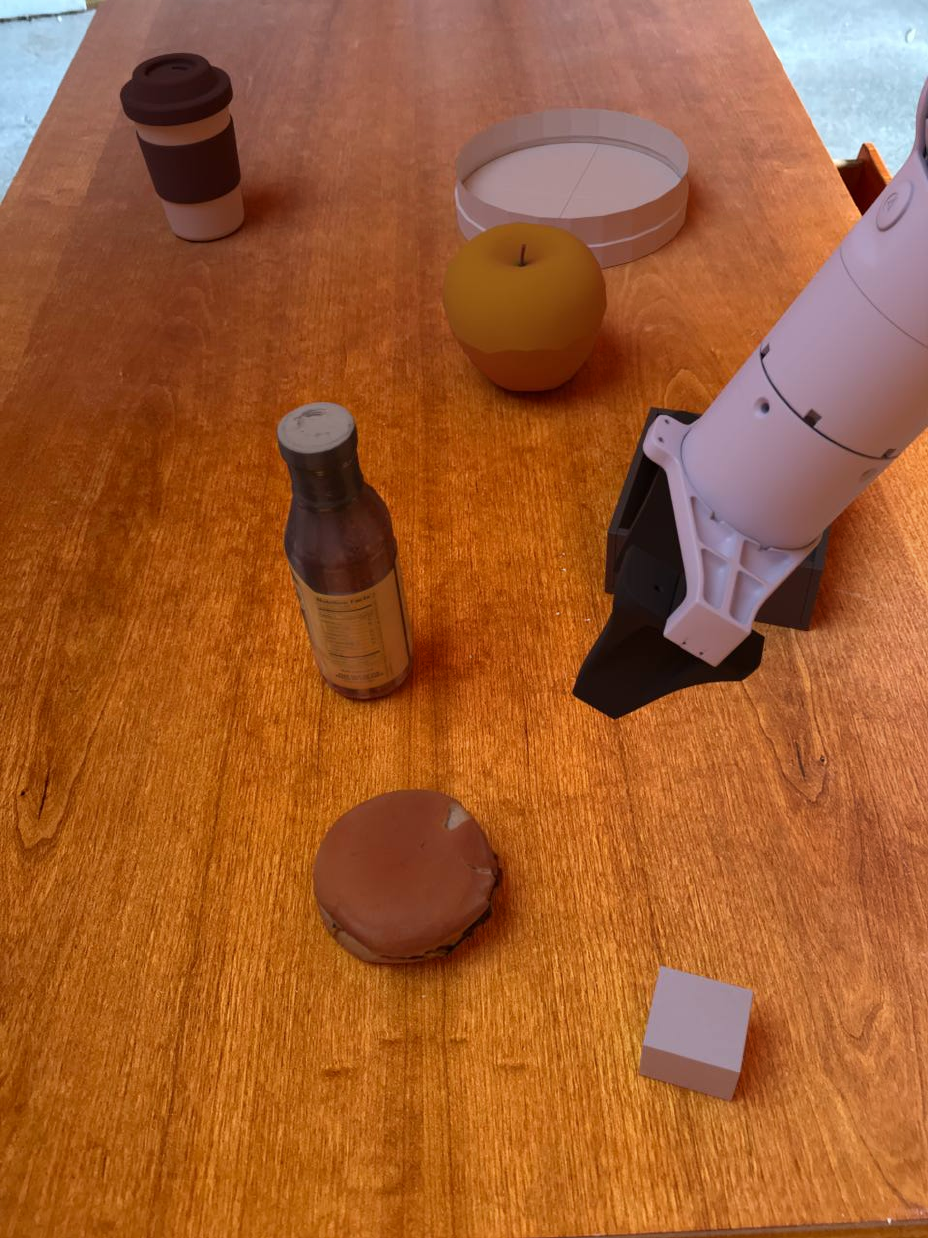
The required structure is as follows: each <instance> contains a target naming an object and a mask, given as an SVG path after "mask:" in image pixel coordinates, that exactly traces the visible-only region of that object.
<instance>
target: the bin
mask: <svg viewBox="0 0 928 1238" xmlns="http://www.w3.org/2000/svg"><path fill="white" fill-rule="evenodd" d="M675 411H678V410H676V409H670V408H664V407H657V406H656V407H655V406H651V407H649V411H648V414H647V417H646V420H645V423H644V425H643V428H642V430H641V434H640V436H639V440H638V443H637V445H636V448H635V451H634V454H633V457H632V460H631V462H630V466H629V469H628V471H627V474H626V477H625V480H624V483H623V486H622V488H621V492H620V493H619V497H618V500H617V503H616V505H615V508H614V512H613V515H612V518H611V520H610V523H609V525H608V529H607V532H606V549H605V550H606V551H605V572H604V573H605V574H604V593H606V594H613V595H614V591H615V586H616V581H617V578H618V574H617V573H616V572H614V571H613V568H614V565H615V562H616V559H617V556H618V553H619V551H620V548H621V546H622V544H623V541H624V539H625V537H626V535H627V533H628V531H629V530H630V528H631V526H632V524H633V522H634V520H635V518H636V516H637V514H638V513H639V511H640V509H641V507H642V505H643V503H644V501H645V499H646V497H647V495H648V493H649V491H650V488H651V486H652V484H653V482H654V479H655V477H656V474H657V472H658V468H659V465H658V464H656V463H655V462H653V461H652V460H651V459H649V458H648V457H647V456H646V454H645V453H644V451H643V443H644V441H645V438H646V435H647V432H648V429H649V428H650V426H651V425H652V424H653V422H654V421H655V420H656V418H657V417H658V416H659V415H667V416H669V417H670V416H671V415H672V414H673V413H674V412H675ZM689 412H690V413H693V414H695V415H697V416H698V417H700V418H701V416H702V415H703V414H704V413H697V412H691V411H689ZM831 525H832V523H831V524H830V525H829V526H828V527H827V528H826V529H825V530H824V531H823V534H822V538H821V540H820V542H819V543H818V545H817V546H816V547H815V548H814V549H813V550H812V551H811V552H810V554H809V555H808V556H807V557H806V558H805V559H804V560H803V561H802V562H801V563H800V564H799V565H798V566H797V567H796V569H795V570H794V571H793V572H792V573H791V574H790V575H789V576H788V577H787V578H786V579H785V580H784V581H783V582H782V583H781V585H780V586H779V587H778V588H777V589H776V590H775V591H774V592H773V593H772V594H771V595H770V596H769V597H768V598H767V599H766V601H765V602H764V603H763V605H762V606H761V607H760V609H759V610H758V612H757V614H756V616H755V619H754V622H757V623H758V622H759V623H764V624H768V625H775V626H779V627H786V628H790V629H796V630H801V631H805V632H808V631H809V629H810V626H811V621H812V617H813V613H814V610H815V605H816V602H817V597H818V594H819V589H820V586H821V585H820V584H821V582H822V577H823V573H824V569H825V568H824V567H825V562H826V556H827V550H828V544H829V537H830V532H831V527H832V526H831ZM683 574H684V573H683ZM683 574H682V575H683ZM682 575H681V576H682Z"/></svg>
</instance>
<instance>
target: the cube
mask: <svg viewBox="0 0 928 1238" xmlns="http://www.w3.org/2000/svg"><path fill="white" fill-rule="evenodd" d="M754 993H755V991H754V990H753V989H750V988H746V987H742V986H738V985H735V984H731V983H728V982H723V981H720V980H716V979H713V978H709V977H705V976H701V975H698V974H694V973H690V972H687V971H682V970H679V969H675V968H672V967H668V966H664V965H660V966H659V969H658V974H657V979H656V982H655V987H654V992H653V995H652V996H653V997H652V1001H651V1005H650V1010H649V1014H648V1018H647V1023H646V1027H645V1031H644V1036H643V1040H642V1046H641V1054H640V1060H639V1068H638V1074H639V1075H641V1076H644V1077H646V1078H650V1079H654V1080H657V1081H661V1082H664V1083H668V1084H671V1085H674V1086H677V1087H681V1088H684V1089H687V1090H691V1091H695V1092H698V1093H700V1094H705V1095H707V1096H711V1097H715V1098H718V1099H721V1100H725V1101H728V1102H732V1101H733V1097H734V1094H735V1091H736V1088H737V1085H738V1081H739V1078H740V1076H741V1072H742V1067H743V1061H744V1054H745V1047H746V1041H747V1035H748V1031H749V1030H748V1029H749V1023H750V1017H751V1011H752V1007H753V1006H752V1004H753V999H754Z"/></svg>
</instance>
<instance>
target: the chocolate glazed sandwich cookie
mask: <svg viewBox="0 0 928 1238" xmlns="http://www.w3.org/2000/svg"><path fill="white" fill-rule="evenodd" d="M503 882H504V871H503V868H502V867H501V866H500V860H499V856H498V855H497V852H495V850H494V848H493V847H492V846H491V845H490V843H489V840H488V838H487V835H486V833H485V831H484V830H483V829H482V827H481V826H480V824H479V823H478V821H477V820H476V818H475V817H474V815H473V814H472V813H471V812H470V811H469V810H468V809H466V807H464V805H463V804H462V802H460V800H459V799H457V798H455V797H453V796H450V795H449V794H445V793H443V792H441V791H436V790H430V789H423V788H414V789H411V788H410V789H399V790H392V791H388V792H384V793H380V794H377V795H376V796H373V797H371V798H369V799H366V800H364V801H361V802H360V803H358V804H356V805H354V806H353V807H352V808H350V809H349V810H348V811H346V812H345V813H343V814H342V815H340V816H339V817H338V819H337V820H335V821H334V823H332V825H331V826H330V828H329V829H328V830H327V831H326V832H325V834H324V836H323V839H322V841H321V844H320V845H319V847H318V849H317V852H316V856H315V860H314V864H313V871H312V884H313V885H312V886H313V894H314V897H315V902H316V906H317V909H318V913H319V917H320V919H321V920H322V922H323V925H324V926H325V929H326V930H327V932H328V933H329V934H330V935H331V937H332V938H333V939H334V941H335V942H337V944H339V945H340V946H341V947H343V948H344V949H345V950H346V951H347V952H349V953H350V954H351V955H352V956H353V957H354V958H357V959H358V960H360V961H364V962H369V963H378V964H379V963H381V964H403V963H404V964H405V963H416V962H423V961H427V960H431V959H436V958H442V957H446V956H449V955H450V954H451V953H452V952H453V951H454V950H455V949H456V948H458V947H459V946H460V945H461V944H462V943H463V942H464V941H465V940H466V939H467V938H469V937H472V935H473V934H474V931H475V930H477V928H479V927H480V926H482V925H484V924H486V922H487V921H488V920H489V919H490V918H491V917H492V916H493V914H494V910H493V906H492V899H493V894H494V891H495V889H496V890H497V891H499V890H500V889H501V888H502V886H503Z"/></svg>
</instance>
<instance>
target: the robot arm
mask: <svg viewBox="0 0 928 1238" xmlns="http://www.w3.org/2000/svg"><path fill="white" fill-rule="evenodd" d="M922 86H923V87H922V89H921V91H920V94H919V98H918V102H917V105H916V113H915V134H914V142H913V145H912V148H911V151H910V154H909V155H908V157H907V159H906V160H905V162H904V163H903V164H902V166H901V167H900V168H899V169H898V171H897V172H896V174H895V175H894V176H893V177H892V178H891V180H889V182H888V184H886V185H885V187H884V189H883V190H882V191H881V193H880V194H879V195H878V196H877V197H876V198H875V200H874V202H873V203H871V205H870V207H869V208H868V209H867V210H866V211H865V213H864V214H863V215H862V217H861V218H860V219H858V221H857V222H856V223H855V224H854V225H853V227H852V228H851V229H850V231H848V233H847V234H846V235H845V236H844V238H843V240H842V241H841V242H840V243H839V244H838V245H837V247H836V248H835V249H834V251H833V252H832V253H831V254H830V255H829V257H827V260H826V261H825V262H824V263H823V264H822V266H821V267H820V268H819V269H818V271H816V273H815V274H814V276H813V277H812V278H811V280H809V282H808V283H807V284H806V286H805V287H804V288H803V289H802V290H801V292H800V293H799V294H798V295H797V297H796V298H795V299H794V300H793V302H792V303H791V304H790V305H789V307H788V308H787V309H786V310H785V311H784V313H783V314H782V316H780V318H779V319H778V321H777V322H775V324H774V325H773V326H772V328H771V329H770V330H769V331H768V333H767V334H766V335H765V337H764V338H763V339H762V341H761V342H760V343H759V345H758V346H757V347H756V348H755V349H754V350H753V352H752V353H751V354H750V355H749V357H748V358H747V359H746V361H745V362H744V363H743V364H742V365H741V367H740V368H739V369H738V370H737V371H736V373H735V374H734V375H733V376H732V377H731V379H730V380H729V382H728V383H727V384H726V385H725V387H723V389H722V390H721V391H720V392H719V394H718V395H717V396H716V398H715V399H714V400H713V401H712V403H711V404H710V405H709V407H708V408H707V409H705V412H703V413H702V414H703V415H702V416H701V418H700V417H698V416H697V415H695V414H693V413H694V412H691V411H688V410H682V409H681V410H680V409H679V410H677V411H675V412H674V413H673V414H672V415H671V416H670V417H669V416H667V415H659V416H658V417H657V418H656V420H655V421H654V422H653V424H652V425H651V426H650V428H649V429H648V432H647V435H646V438H645V441H644V443H643V451H644V453H645V454H646V456H647V457H648V458H649V459H651V460H652V461H653V462H655V463H656V464H658V465H659V468H658V472H657V474H656V477H655V479H654V482H653V484H652V486H651V488H650V491H649V493H648V495H647V497H646V499H645V501H644V503H643V505H642V507H641V509H640V511H639V513H638V514H637V516H636V518H635V520H634V522H633V524H632V526H631V528H630V530H629V531H628V533H627V535H626V537H625V539H624V541H623V544H622V546H621V548H620V551H619V553H618V556H617V559H616V562H615V565H614V568H613V571H614V572H616V573H617V574H618V578H617V581H616V586H615V591H614V594H613V598H612V602H611V603H612V604H611V605H612V607H611V612H610V615H609V617H608V618H607V621H606V623H605V625H604V627H603V628H602V630H601V632H600V633H599V635H598V636H597V638H596V640H595V641H594V643H593V644H592V647H591V648H590V650H589V651H588V653H587V655H586V656H585V658H584V660H583V662H582V664H581V665H580V668H579V670H578V673H577V675H576V678H575V682H574V684H573V688H572V691H571V694H572V696H573V697H575V698H576V699H578V700H579V701H581V702H583V703H585V704H586V705H588V706H590V707H592V708H593V709H595V710H596V711H599V712H600V713H601V714H603V715H605V716H607V717H609V718H610V719H612V720H617V719H620V718H622V717H624V716H627V715H629V714H632V713H633V712H635V711H637V710H639V709H641V708H643V707H646V706H647V705H650V704H651V703H653V702H655V701H657V700H659V699H661V698H664V697H666V696H668V695H671V694H673V693H675V692H678V691H681V690H683V689H688V688H691V687H694V686H700V685H706V684H711V683H712V684H713V683H721V682H722V683H725V682H743V681H744V680H746V679H747V678H748V677H750V676H751V675H752V674H754V673H755V672H756V670H758V668H759V667H760V666H761V663H762V659H763V655H764V654H763V653H764V648H765V642H766V636H764V635H762V633H759V632H758V631H756V630H755V629H753V627H754V623H755V621H754V619H755V616H756V614H757V612H758V610H759V609H760V607H761V606H762V605H763V603H764V602H765V601H766V599H767V598H768V597H769V596H770V595H771V594H772V593H773V592H774V591H775V590H776V589H777V588H778V587H779V586H780V585H781V583H782V582H783V581H784V580H785V579H786V578H787V577H788V576H789V575H790V574H791V573H792V572H793V571H794V570H795V569H796V567H797V566H798V565H799V564H800V563H801V562H802V561H803V560H804V559H805V558H806V557H807V556H808V555H809V554H810V552H811V551H812V550H813V549H814V548H815V547H816V546H817V545H818V543H819V542H820V540H821V538H822V534H823V531H824V530H825V529H826V528H827V527H828V526H829V525H830V524H831V525H832V523H833V522H834V521H835V520H836V519H837V518H838V517H839V516H840V515H841V514H842V513H843V512H844V511H845V510H846V509H847V508H848V507H849V506H850V505H851V504H852V503H853V502H854V501H855V500H856V499H857V498H858V497H859V496H860V495H861V494H862V493H863V492H864V491H865V490H866V489H867V488H868V487H870V485H871V484H872V483H873V482H874V481H875V480H876V479H877V478H878V477H879V476H881V475H882V473H884V472H885V470H887V469H888V468H889V466H891V465H892V464H893V463H894V462H895V461H896V460H897V458H899V457H900V456H901V454H903V452H904V451H905V450H906V449H908V447H909V446H910V445H911V444H913V442H915V440H916V439H917V438H918V437H920V436H921V434H922V433H924V432H925V430H927V429H928V75H927V76H926V78H925V81H924V83H923V85H922ZM690 412H691V413H690ZM683 573H684V574H683ZM682 574H683V575H682ZM681 575H682V576H681Z"/></svg>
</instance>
